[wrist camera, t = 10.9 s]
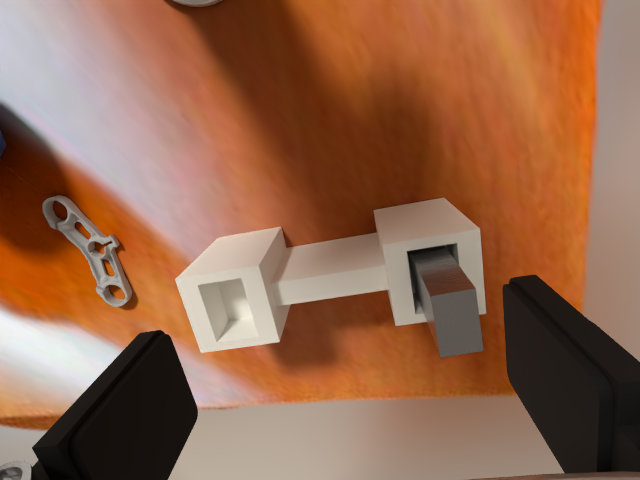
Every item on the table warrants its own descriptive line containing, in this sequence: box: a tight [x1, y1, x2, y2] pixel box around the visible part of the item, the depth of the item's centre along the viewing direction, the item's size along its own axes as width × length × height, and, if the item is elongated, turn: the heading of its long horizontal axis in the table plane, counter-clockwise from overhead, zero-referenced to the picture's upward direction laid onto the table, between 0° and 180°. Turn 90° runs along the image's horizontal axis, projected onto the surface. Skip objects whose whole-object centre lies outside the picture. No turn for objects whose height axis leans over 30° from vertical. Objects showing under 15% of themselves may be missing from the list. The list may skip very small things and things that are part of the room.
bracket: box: [42, 195, 132, 307], centre depth 47 cm, size 8×2×15 cm
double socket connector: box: [175, 197, 486, 353], centre depth 39 cm, size 8×27×12 cm, turn 101°
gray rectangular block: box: [407, 245, 484, 358], centre depth 31 cm, size 5×3×11 cm, turn 14°
